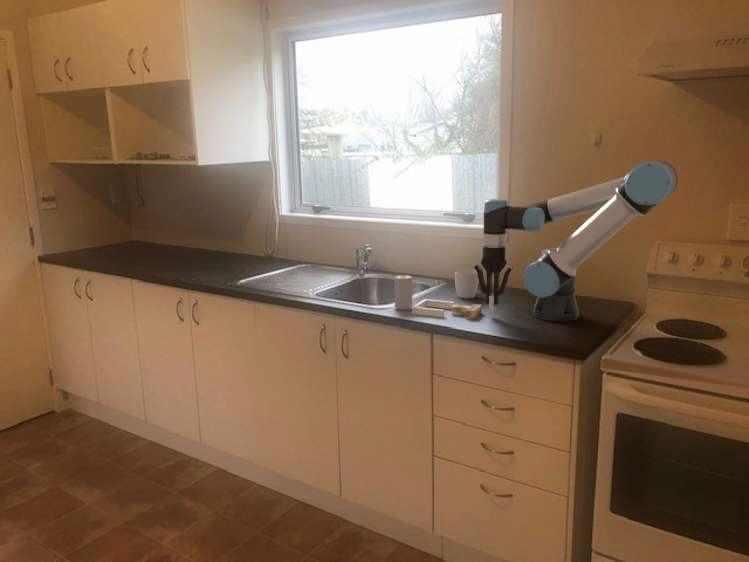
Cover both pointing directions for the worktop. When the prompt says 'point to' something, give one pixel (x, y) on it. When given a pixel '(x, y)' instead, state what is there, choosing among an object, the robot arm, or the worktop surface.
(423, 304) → the tray
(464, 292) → the mug
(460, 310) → the t block
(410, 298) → the beverage can
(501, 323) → the worktop surface
